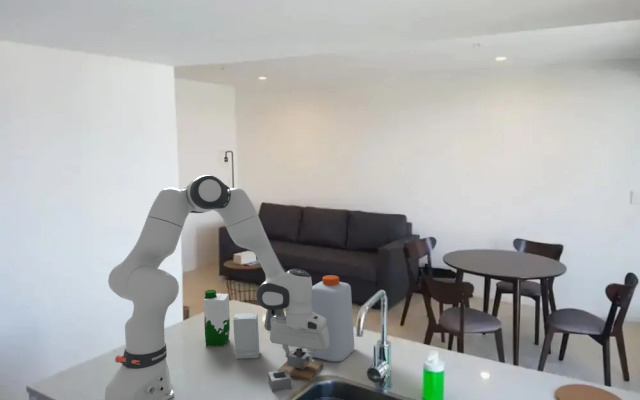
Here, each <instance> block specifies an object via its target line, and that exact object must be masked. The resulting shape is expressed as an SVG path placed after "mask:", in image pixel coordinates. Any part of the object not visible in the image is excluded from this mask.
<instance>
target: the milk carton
mask: <svg viewBox="0 0 640 400" xmlns="http://www.w3.org/2000/svg"><path fill="white" fill-rule="evenodd" d="M229 296H230V295H229V293H217V290H215V289H207V290H205V291H204V299H203V316H204V317H203V318H204V322H203V323H204V338H205V339H204V340H205V347H225V346H226V345H227V342H228V341H229V336H230V329H231V325H230V323H231V322H230V320H231V319H230V299H229V298H230V297H229Z"/></svg>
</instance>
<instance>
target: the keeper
mask: <svg viewBox="0 0 640 400" xmlns="http://www.w3.org/2000/svg"><path fill="white" fill-rule="evenodd" d="M302 350H303V348H300V347H296V356H300V357H302ZM283 363H284V364H282V365H281V366H280V367H279V368H278V369H277V370H276V371H280V370H287V371H288V373H289V375H290V377H291V380H297V381H303V382H307V383H308V382H309V383H310V382H311V381H312V380H313V378H315V376H316V375H317V374H318V372H319V371H320V370H321V369H322V367H323V365H324V364H323V362H319V361H313V360H312V361H311V362H310V363H309V364H308V365H307V366H306V368H305V369H300V368H296V367H291V366H287V360H286V361H285V362H283ZM319 369H320V370H319Z"/></svg>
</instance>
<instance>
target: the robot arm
mask: <svg viewBox="0 0 640 400" xmlns="http://www.w3.org/2000/svg"><path fill="white" fill-rule="evenodd" d="M211 211H214V212H217V214H219V216H220V217H221V218H222V220H223V222H224V225H225V228H226V231H227V233H228V235H229V237H230V238H231V240H232V241H233V243H234V244H235V245H236V246H238V247H239V248H243V249H246V250H249V251H251V252H252V253H253V254H254V255H255V256H256V258H257V260H258V262H259V264H260V266H261V268H262V270H263V272H264V274H265V280H264V281H263V282H262V283H261V285H260V286H259V287H258V288H257V289H256V290H257V291H256V295H255V297H256V300H257V303H258V304H259V305H260V307H262V308H263V309H265V310H267V309H268V310H276V309H283V310H284V309H285V316H278V315H275V316H273V317H272V318H271V331H270V330H269V331H270V332H269V340H270V343H272V344H277V345H281V346H282V349H283V351H284V352H285V358H287V356H288V355H289V354H290V353H291V352H292V350H290V348H289V346H290V347H294V348H302V349H305V350H306V349H310V352H311V354H308V355H307V361H313V358H314V357H313V354H314V352H315V351H316V350H319V351H325V350H326V349H327V348H328V347H329V332H328V328H327V327H326V326H325V324H326V322H327V320H326V318H325V317H323V316H320V315H318V314H316V313H315V312H313V309H312V305H311V301H312V298H313V291H312V287H313V282H312V276H311V275H310V273H308V272H307V271H306V270H304V269H300V268H292V269H289V270H287V269H285V268H284V267H283V265H282V263H281V262H280V259H279V258H278V255H277V254H276V251H275V249H274V247H273V246H272V243H271V242H270V240H269V238H268V235H267V233H266V231H265V229H264V226H263V224H262V221H261V219H260V217H259V214H258V212H257V210H256V208H255V206H254V204H253V202H252V200H251V199H250V197H249V195H248V194H247V192H246V191H245V190H244V189H242V188H240V187H229V186H228V185H226V183H224V182H223V181H222V180H221V179H220V178H218V177H217V176H214V175H211V174H204V175H201V176H198V177H197V178H195V179H194V180H192V181H191V182H190V183H188V184H187V186H186V187H184V188H183V189H180V188H179V189H178V188H175V187H166V188H163V189H161V190H160V191H159V192H158V195H157V196H156V198H155V199H154V201H153V203H152V205H151V207H150V209H149V212H148V214H147V217H146V220H145V222H144V224H143V227H142V230H141V232H140V235H139V237H138V239H137V241H136V243H135V244H134V247H132V250H130V252H129V253H128V254H127V256H126V257H125V258H124V260H123V261H121V262H120V263H119V264H117V265H115V266H114V267H113V268H112V270H111V271H110V272H109V275H108V281H107V282H108V286H109V289H110V290H111V291H112V292H113V293H114V294H116V295H117V296H118V297H120V298H121V299H125V300H128V301H130V302H132V304H133V311H132V315H131V317H129V319H128V320H127V321H126V322H125V324H124V333H125V334H124V336H125V337H124V338H125V348H124V351H123V355H116V356H115V358H114V363H120V367H119V368H118V369H117V370H116V372H115V374H114V375H113V377H112V378H111V379H110V381H109V382H108V384H107V385H106V386H105V390H104V391H105V392H104V399H103V400H170V399H171V398H174V396H175V393H174V392H175V391H174V390H173V385H172V383H171V382H172V381H171V375H170V369H169V366H168V363H167V353H168V352H167V351H168V350H167V349H168V348H167V343H166V341H165V320H166V314H167V311H168V309H169V307H170V306H171V305H172V304H173V303H174V302H175V301H176V299H177V298H178V295H179V291H180V285H179V282H178V280H177V278H176V277H175V276H174V275H172V274H171V273H169V272H167V271H166V270H163V269H160V268H159V267H160V266H161V264H162V263H163V262H164V261H165V259H167V258H168V257H170V256H171V255H173V254H174V253H175V252H176V249H177V247H178V243H179V240H180V237H181V234H182V231H183V229H184V225H185V223H186V220H187V217H188V216H189V214H204V213H209V212H211Z"/></svg>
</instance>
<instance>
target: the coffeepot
mask: <svg viewBox="0 0 640 400" xmlns="http://www.w3.org/2000/svg"><path fill="white" fill-rule="evenodd" d="M275 315H278V316H285V317H286V313H285V310H284V308H283V309H276V310H268V309H266V313H265V320H264V328H265V330H266V331H267V330H268V331H271V318H272V317H273V316H275Z"/></svg>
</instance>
